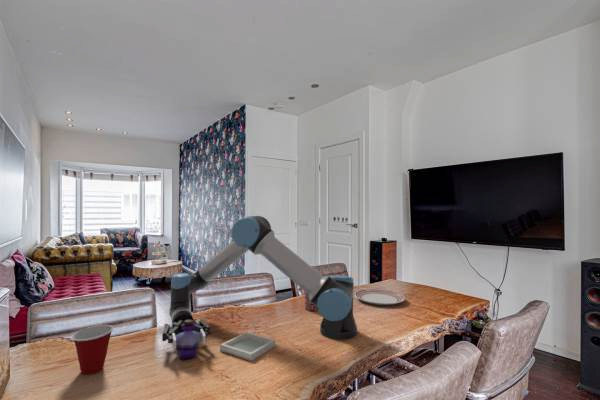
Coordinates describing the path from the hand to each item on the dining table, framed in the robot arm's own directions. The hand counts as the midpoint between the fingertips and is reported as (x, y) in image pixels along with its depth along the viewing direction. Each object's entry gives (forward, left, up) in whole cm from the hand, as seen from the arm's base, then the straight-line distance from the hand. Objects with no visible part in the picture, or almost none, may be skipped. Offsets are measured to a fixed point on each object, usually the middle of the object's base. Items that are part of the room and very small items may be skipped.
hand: (190, 342), depth 104 cm
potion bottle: (+4, -3, -7) cm, 8 cm away
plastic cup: (+21, +19, -7) cm, 29 cm away
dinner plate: (-30, -107, -7) cm, 111 cm away
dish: (-9, -19, -6) cm, 22 cm away
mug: (-5, -73, -7) cm, 73 cm away
